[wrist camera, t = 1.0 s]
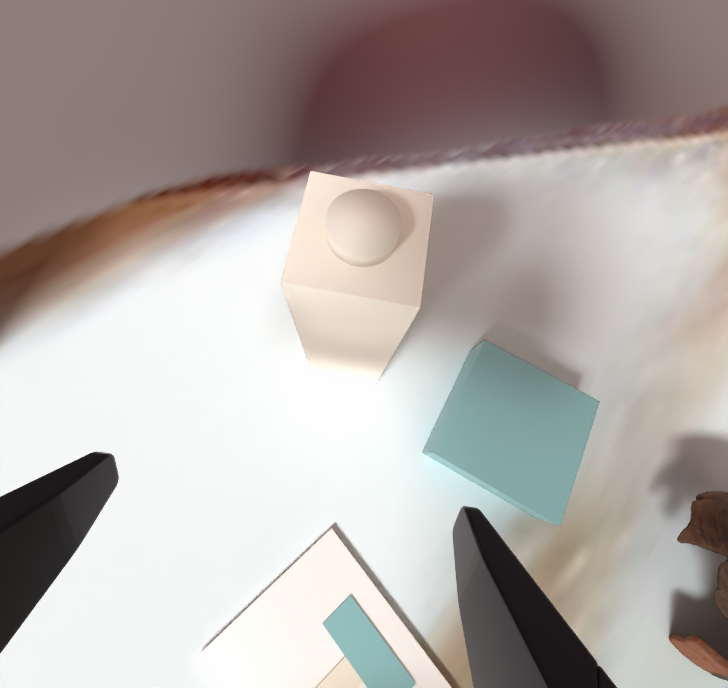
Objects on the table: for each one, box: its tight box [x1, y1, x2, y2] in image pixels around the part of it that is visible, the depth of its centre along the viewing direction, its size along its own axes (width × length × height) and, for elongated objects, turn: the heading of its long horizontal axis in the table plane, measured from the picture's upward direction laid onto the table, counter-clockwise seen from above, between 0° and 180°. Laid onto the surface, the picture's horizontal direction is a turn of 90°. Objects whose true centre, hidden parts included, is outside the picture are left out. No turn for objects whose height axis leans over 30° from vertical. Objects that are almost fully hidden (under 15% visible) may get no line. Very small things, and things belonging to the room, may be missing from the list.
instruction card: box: [198, 528, 452, 688], centre depth 18 cm, size 12×9×1 cm
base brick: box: [422, 340, 600, 526], centre depth 22 cm, size 8×8×3 cm
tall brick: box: [281, 171, 434, 384], centre depth 17 cm, size 4×4×14 cm
